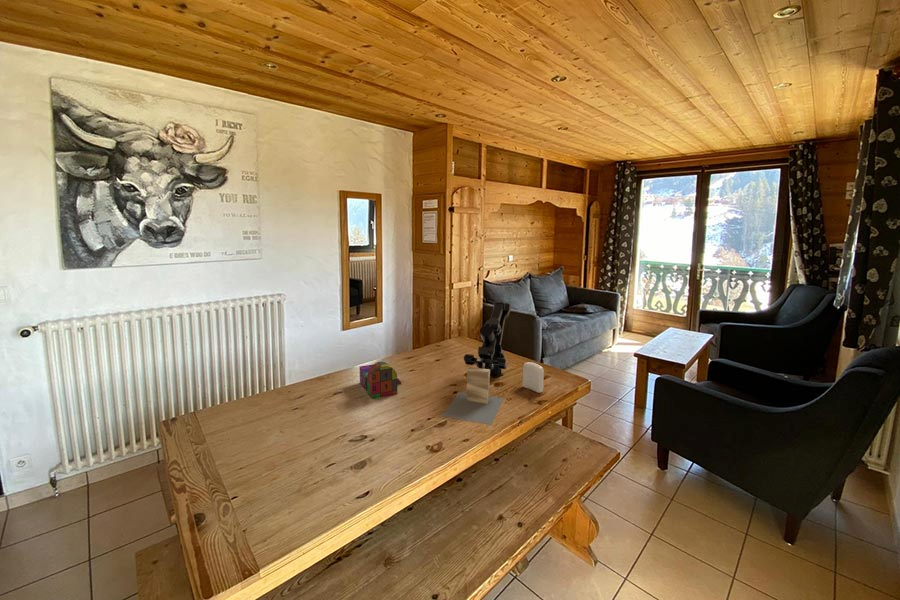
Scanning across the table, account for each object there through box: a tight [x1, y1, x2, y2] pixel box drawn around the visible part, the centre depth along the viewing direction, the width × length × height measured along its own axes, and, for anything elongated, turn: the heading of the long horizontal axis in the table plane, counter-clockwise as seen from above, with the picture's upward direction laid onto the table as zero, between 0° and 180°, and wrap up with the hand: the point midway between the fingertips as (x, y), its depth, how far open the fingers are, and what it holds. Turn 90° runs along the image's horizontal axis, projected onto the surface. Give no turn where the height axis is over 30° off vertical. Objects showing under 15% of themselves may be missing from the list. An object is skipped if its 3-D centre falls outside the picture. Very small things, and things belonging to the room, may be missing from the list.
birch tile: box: [466, 366, 491, 404], centre depth 171 cm, size 3×9×14 cm, turn 72°
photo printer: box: [522, 361, 545, 394], centre depth 185 cm, size 10×4×12 cm, turn 39°
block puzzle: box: [358, 361, 402, 400], centre depth 188 cm, size 25×17×14 cm
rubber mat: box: [441, 391, 504, 426], centre depth 166 cm, size 24×20×1 cm
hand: (481, 379), depth 176 cm, fingers closed
